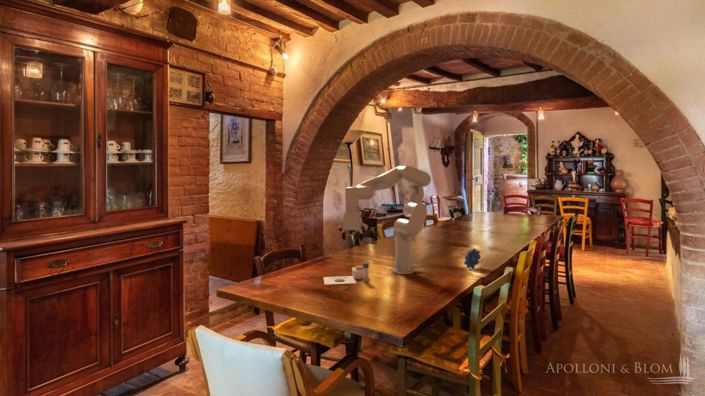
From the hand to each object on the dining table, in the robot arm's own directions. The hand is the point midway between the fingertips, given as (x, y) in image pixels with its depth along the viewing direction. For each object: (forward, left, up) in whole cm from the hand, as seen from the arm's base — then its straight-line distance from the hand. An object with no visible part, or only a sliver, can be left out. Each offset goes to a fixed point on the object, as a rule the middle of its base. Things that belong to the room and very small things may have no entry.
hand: (352, 240), depth 227 cm
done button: (-4, -5, -19) cm, 20 cm away
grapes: (-74, -15, -22) cm, 79 cm away
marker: (-6, +5, -22) cm, 24 cm away
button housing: (-4, -5, -22) cm, 23 cm away
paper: (+8, +1, -22) cm, 23 cm away
